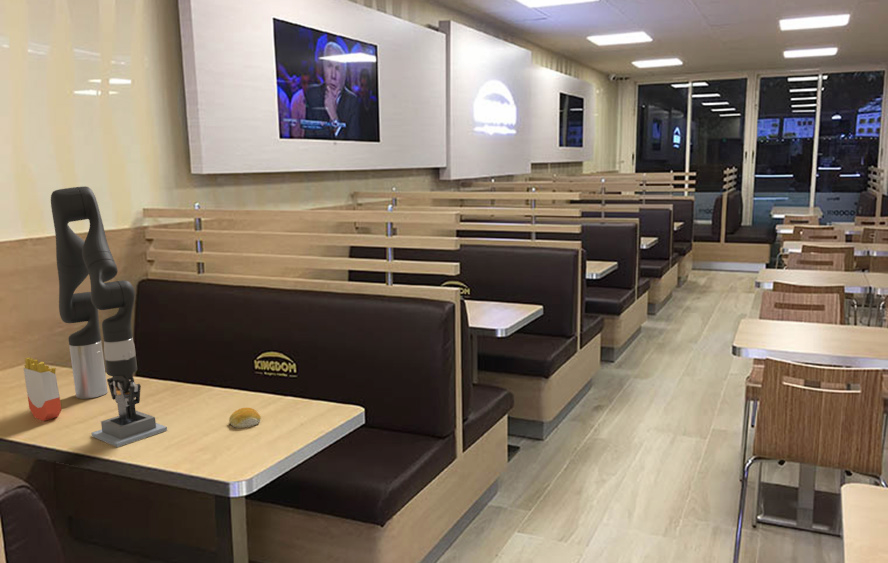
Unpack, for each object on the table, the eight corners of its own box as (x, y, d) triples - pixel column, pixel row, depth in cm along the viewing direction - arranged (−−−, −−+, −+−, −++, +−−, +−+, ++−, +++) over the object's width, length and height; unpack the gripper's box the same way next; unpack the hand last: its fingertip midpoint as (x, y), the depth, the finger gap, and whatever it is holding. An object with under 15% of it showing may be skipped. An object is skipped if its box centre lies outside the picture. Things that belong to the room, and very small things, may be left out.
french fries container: (46, 411, 217) (37, 353, 214) (63, 417, 211) (55, 358, 208) (30, 416, 214) (21, 357, 211) (47, 422, 207) (39, 362, 204)
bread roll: (256, 415, 206) (255, 402, 206) (263, 424, 198) (262, 411, 198) (226, 421, 203) (225, 407, 202) (232, 431, 195) (231, 416, 194)
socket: (91, 436, 195) (90, 422, 194) (140, 420, 205) (139, 407, 205) (117, 447, 186) (115, 432, 185) (167, 430, 197) (165, 416, 196)
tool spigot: (117, 425, 195) (113, 390, 193) (131, 421, 198) (127, 386, 197) (125, 428, 193) (120, 392, 191) (139, 424, 196) (135, 388, 194)
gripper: (93, 355, 194) (101, 416, 197) (119, 362, 185) (127, 426, 188) (120, 349, 200) (127, 408, 202) (147, 356, 191) (154, 417, 193)
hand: (127, 416), depth 195 cm, fingers closed on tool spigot, 4 cm apart
